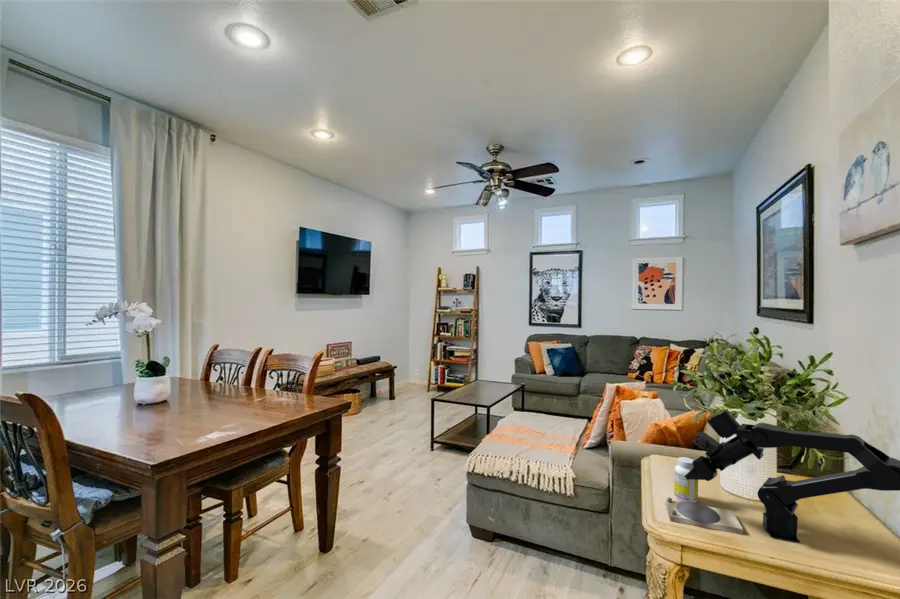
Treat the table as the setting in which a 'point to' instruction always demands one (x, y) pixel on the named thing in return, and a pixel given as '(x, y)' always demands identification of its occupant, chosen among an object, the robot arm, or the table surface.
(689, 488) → the supplement bottle
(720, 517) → the jig board
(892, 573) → the table surface
